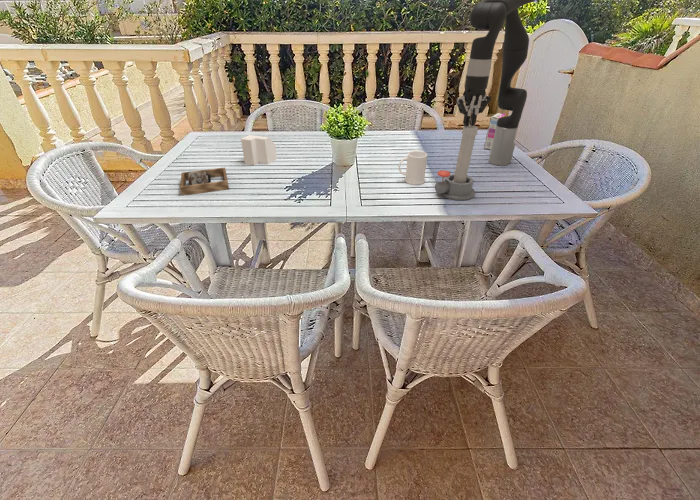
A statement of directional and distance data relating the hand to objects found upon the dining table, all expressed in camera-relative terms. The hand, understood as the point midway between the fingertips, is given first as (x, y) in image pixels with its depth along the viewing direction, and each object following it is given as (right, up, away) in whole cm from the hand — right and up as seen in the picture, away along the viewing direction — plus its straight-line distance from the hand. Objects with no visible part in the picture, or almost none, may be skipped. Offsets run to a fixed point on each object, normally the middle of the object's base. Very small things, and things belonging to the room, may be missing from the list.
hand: (468, 125), depth 134 cm
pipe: (0, -21, +14) cm, 25 cm away
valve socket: (-1, -23, +15) cm, 27 cm away
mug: (-17, -16, +25) cm, 34 cm away
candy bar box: (+32, +9, +62) cm, 70 cm away
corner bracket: (-87, -3, +45) cm, 97 cm away
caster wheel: (-107, -18, +22) cm, 111 cm away
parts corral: (-105, -18, +22) cm, 108 cm away
